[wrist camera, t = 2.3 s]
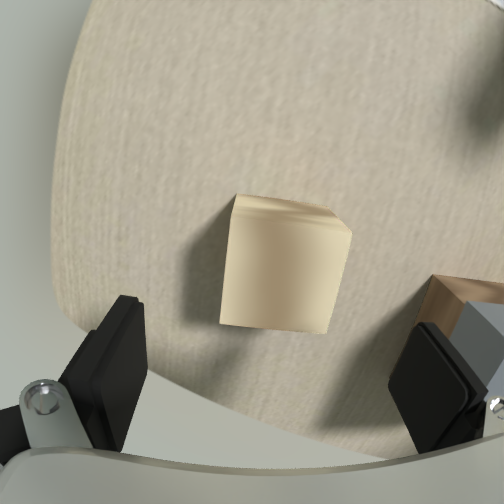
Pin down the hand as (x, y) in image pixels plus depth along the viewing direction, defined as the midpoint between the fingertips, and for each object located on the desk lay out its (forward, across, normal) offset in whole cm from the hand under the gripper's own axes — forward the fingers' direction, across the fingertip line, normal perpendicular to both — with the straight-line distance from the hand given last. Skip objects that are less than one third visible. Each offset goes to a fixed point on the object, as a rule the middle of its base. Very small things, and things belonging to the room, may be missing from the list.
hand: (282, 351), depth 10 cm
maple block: (+11, -1, 0) cm, 11 cm away
